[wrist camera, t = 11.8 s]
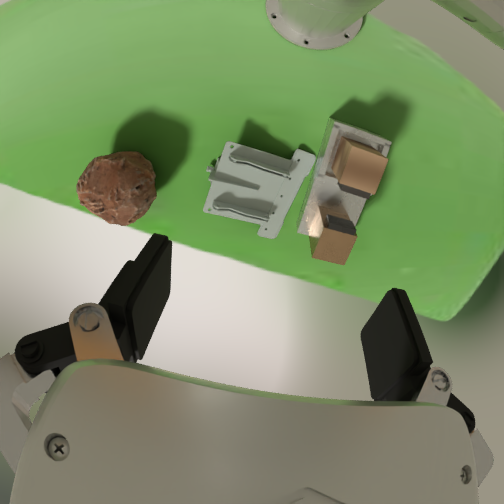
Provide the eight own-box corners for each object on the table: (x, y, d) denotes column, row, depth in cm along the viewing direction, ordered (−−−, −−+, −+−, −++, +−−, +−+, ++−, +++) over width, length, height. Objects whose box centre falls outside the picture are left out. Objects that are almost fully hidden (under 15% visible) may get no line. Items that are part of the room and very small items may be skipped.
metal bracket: (193, 228, 39) (227, 128, 31) (193, 207, 44) (223, 118, 35) (283, 246, 44) (327, 162, 36) (274, 226, 49) (312, 148, 40)
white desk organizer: (329, 117, 34) (342, 126, 26) (381, 135, 34) (406, 151, 27) (296, 222, 43) (299, 255, 36) (343, 235, 44) (354, 269, 36)
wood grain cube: (341, 135, 32) (352, 145, 27) (373, 147, 32) (388, 159, 27) (329, 173, 35) (337, 189, 30) (360, 182, 35) (372, 200, 31)
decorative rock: (174, 153, 39) (146, 175, 31) (163, 217, 45) (138, 250, 37) (102, 137, 38) (64, 155, 29) (98, 197, 44) (66, 225, 36)
